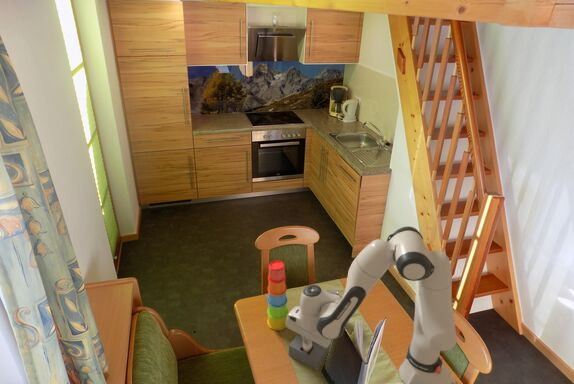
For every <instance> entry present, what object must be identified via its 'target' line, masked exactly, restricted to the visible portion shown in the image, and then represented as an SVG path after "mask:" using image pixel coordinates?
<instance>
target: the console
mask: <svg viewBox="0 0 574 384" xmlns="http://www.w3.org/2000/svg"><path fill="white" fill-rule="evenodd" d="M331 343H332V340H331ZM302 344H303V339H302V337H301V335H300V334H298V333H297V334H296V336H295V337H294V339H292V341H291V342H290V344H289V346H288V355H289V356H290V357H292V358H293V359H296V360H297V361H299V362H300V363H303V364H304V365H306V366H308V367H310V368H312V369H313V370H315V371H318V369H319V368H320V367H321V365H322V364H323V362H324V360H325V359H326V357H327V356H328V354H329V353H330V351H329V349H330V346H331V344H330V345H329V347H327V348H324V347H323V346H321V345H319V344H317V343H315V342H313V341H312V348H311V349H310V354H307V353H305V352H303V347H302ZM328 352H329V353H328Z"/></svg>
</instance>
